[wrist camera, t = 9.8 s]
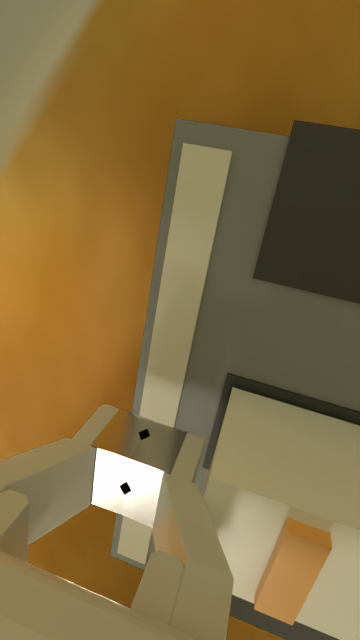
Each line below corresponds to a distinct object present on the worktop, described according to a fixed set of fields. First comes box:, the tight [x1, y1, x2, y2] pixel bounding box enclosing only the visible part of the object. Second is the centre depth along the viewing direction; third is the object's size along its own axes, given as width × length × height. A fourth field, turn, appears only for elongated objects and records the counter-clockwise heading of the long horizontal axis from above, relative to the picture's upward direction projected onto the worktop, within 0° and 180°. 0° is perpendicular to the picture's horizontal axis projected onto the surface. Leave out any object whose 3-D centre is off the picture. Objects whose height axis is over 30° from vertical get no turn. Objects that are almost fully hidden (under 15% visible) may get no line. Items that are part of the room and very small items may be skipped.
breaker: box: [203, 387, 360, 640], centre depth 8 cm, size 3×4×4 cm
